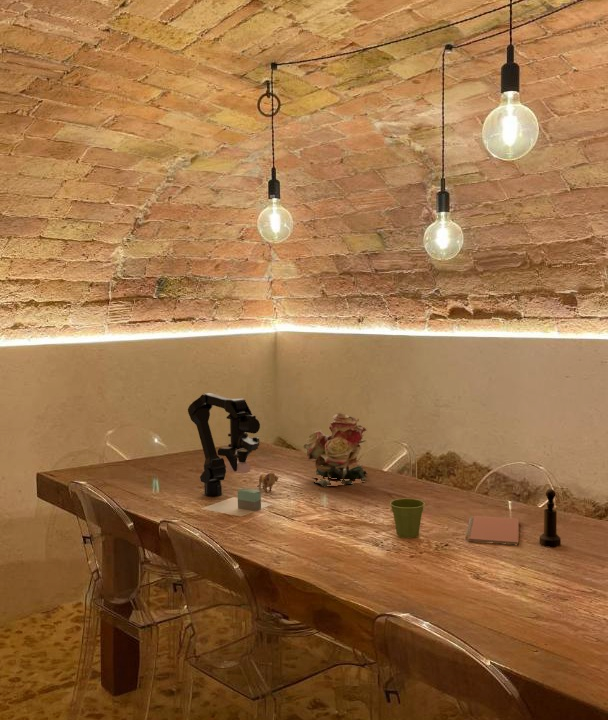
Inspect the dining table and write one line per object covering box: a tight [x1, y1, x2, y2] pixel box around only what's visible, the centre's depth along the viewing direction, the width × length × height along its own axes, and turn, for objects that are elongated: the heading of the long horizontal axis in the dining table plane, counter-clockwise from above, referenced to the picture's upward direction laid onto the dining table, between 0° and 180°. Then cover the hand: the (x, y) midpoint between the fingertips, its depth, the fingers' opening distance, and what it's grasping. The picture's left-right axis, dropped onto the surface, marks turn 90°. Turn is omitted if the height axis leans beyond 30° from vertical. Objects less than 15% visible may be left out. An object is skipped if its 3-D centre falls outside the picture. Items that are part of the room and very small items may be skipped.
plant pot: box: [389, 497, 426, 539], centre depth 256 cm, size 12×12×11 cm
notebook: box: [465, 515, 519, 544], centre depth 260 cm, size 27×17×2 cm, turn 164°
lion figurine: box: [256, 472, 279, 493], centre depth 318 cm, size 15×5×9 cm, turn 34°
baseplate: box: [200, 496, 273, 517], centre depth 293 cm, size 20×20×4 cm
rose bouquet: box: [303, 412, 368, 487], centre depth 334 cm, size 26×29×30 cm
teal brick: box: [237, 487, 262, 502], centre depth 290 cm, size 8×4×4 cm, turn 56°
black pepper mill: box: [539, 488, 561, 548], centre depth 245 cm, size 7×6×18 cm
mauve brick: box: [226, 461, 251, 475], centre depth 299 cm, size 8×4×4 cm, turn 57°
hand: (238, 470), depth 299 cm, fingers closed on mauve brick, 4 cm apart
